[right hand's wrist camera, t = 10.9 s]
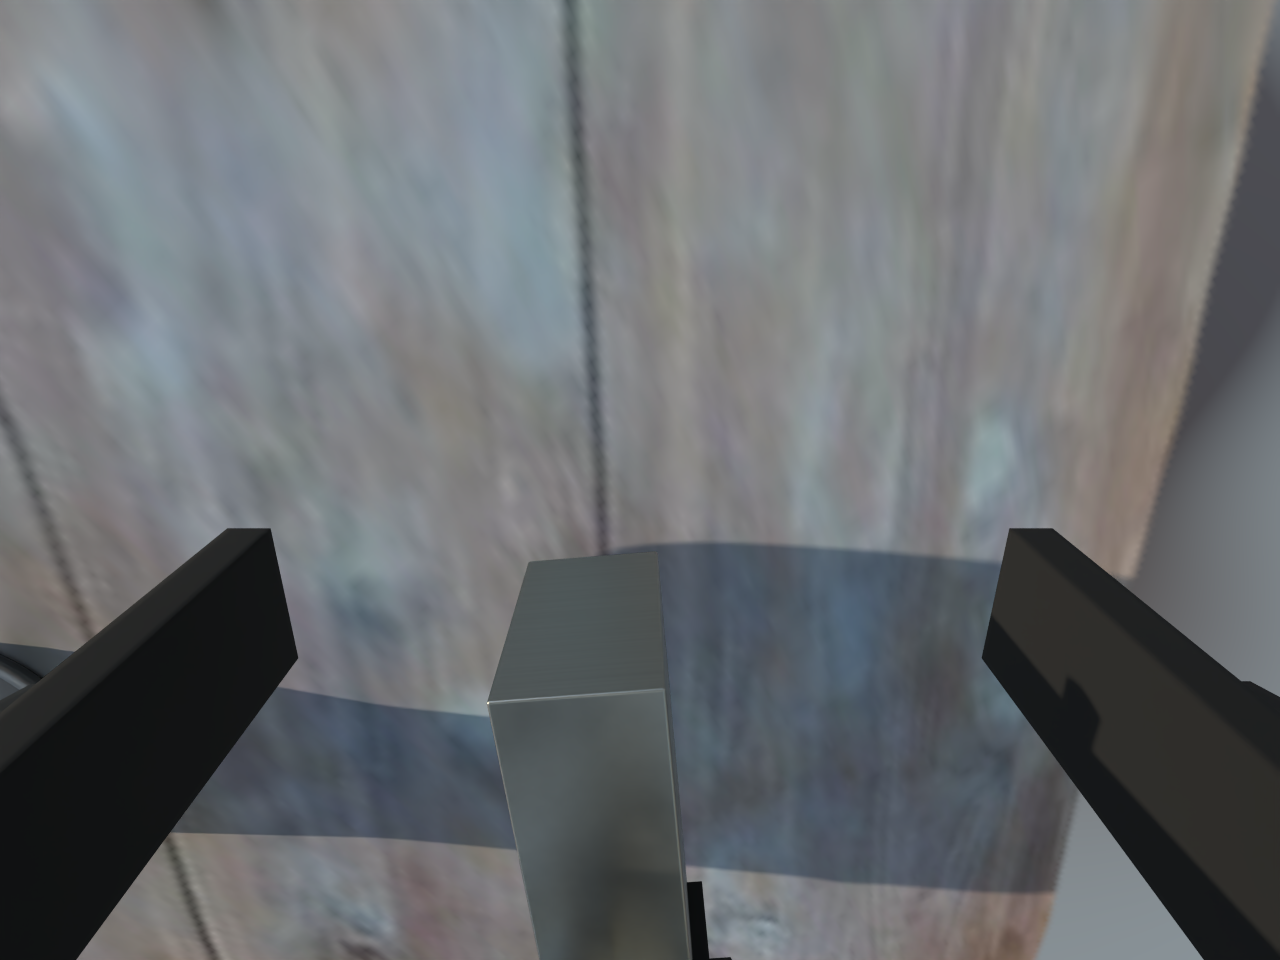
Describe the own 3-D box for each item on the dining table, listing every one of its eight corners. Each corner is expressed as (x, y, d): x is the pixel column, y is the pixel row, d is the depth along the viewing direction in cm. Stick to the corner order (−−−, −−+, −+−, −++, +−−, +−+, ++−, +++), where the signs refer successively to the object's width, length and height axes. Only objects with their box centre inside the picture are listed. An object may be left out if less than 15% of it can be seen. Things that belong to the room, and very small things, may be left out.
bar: (528, 560, 29) (485, 702, 21) (657, 550, 29) (665, 688, 21) (590, 942, 37) (577, 1152, 29) (691, 936, 37) (707, 1145, 29)
